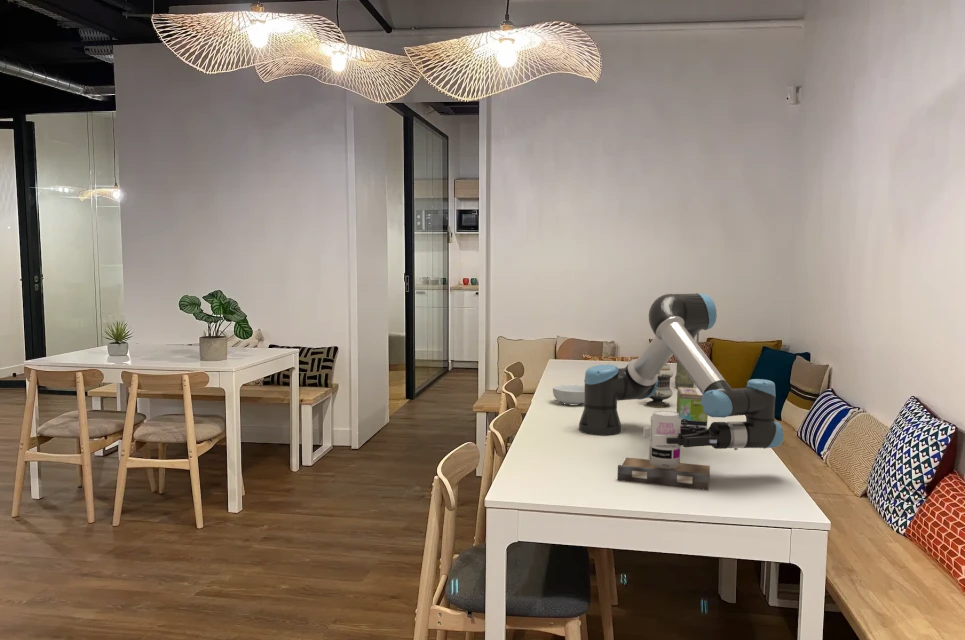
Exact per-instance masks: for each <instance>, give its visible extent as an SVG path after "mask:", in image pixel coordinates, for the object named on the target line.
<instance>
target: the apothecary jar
mask: <svg viewBox="0 0 965 640" xmlns="http://www.w3.org/2000/svg"><path fill="white" fill-rule="evenodd" d="M673 376H674V372H673V370H672V369H671V367H670V364H669V363H668V362H667V363H666V364H665V365H664V366H663V367H662V369H661V370H660V371H659V372H658V373H657V377H658V384H657V390H656V392H655V393H654V394H653V395H652V396H651V397H649V398H648V399H651V401H647V402H646V403H645V406H647V407H651V408H658V409H659V408H661V409H662V408H668V407H670V404H668V403H667V401H666V402H665V401H664V400H668V399H670V398H671V397H672V396H673V393H674V392H673V390H672V389H671V378H672V377H673Z"/></svg>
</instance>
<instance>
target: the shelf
mask: <svg viewBox="0 0 965 640" xmlns="http://www.w3.org/2000/svg"><path fill="white" fill-rule="evenodd" d="M649 460H650V459H645V458H634V457H625V459H624V461H623V463H622V464H618V465H617V481H622V480H625V481H624V482H631V481H633V482H632V483H640V482H641V484H648V485H649V484H650V485H651V484H652V485H660V486H669V487H677V488H687V489H696V490H703V489H704V491H708V489H709V483H708V482H709V479H710V473H711V472H710V470H711V465H707V464H706V465H705V464H697V463H695V464H694V463H688V462H687V463H686V462H680V464H679V466H677V468H674V469H660V468H656V467H654V466H652V464H650V462H649Z"/></svg>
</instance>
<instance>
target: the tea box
mask: <svg viewBox="0 0 965 640" xmlns="http://www.w3.org/2000/svg"><path fill="white" fill-rule="evenodd" d="M676 392H677V393H676V395H677V397H676V398H677V399H676V413H678V414H679V416H680V418H681V426H696V425H697V426H699V427H705V428H706V429H708V418H709V416H708V415H707V414H706V413H705V412H704V410H703V406H702V403H701V401H702V396H703V394H702V393H701V392H700V390H699V389H698V388H697V387H693V388H684V387H678V389H677V391H676Z"/></svg>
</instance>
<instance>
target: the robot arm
mask: <svg viewBox="0 0 965 640" xmlns="http://www.w3.org/2000/svg"><path fill="white" fill-rule="evenodd" d="M648 311H649V312H648V323H649V326H650V328H651V329H650V330H651V331H652V333H653V334H654V337H653V339H652V340H651V341H650V343H649V344H648V345H647V346H646V348H645V349H644V350H643V351H642V352H641V354H640V355H639V356H638V358H633V359H631V360H630V361H629V363H627V365H626V366H625V367H620V368H619V367H618V366H617V365H615V364H598V365H592V366H590V367H588V368H587V369H586V370H585V372H584V373H585V374H584V385H585V399H584V405H583V407H584V408H583V411H582V414H581V417H580V419H579V423H578V430H579V431H580V432H582V433H584V432H585V433H584V434H588V433H589V435H595V434H596V435H597V436H610V435H611V436H612V435H617V434H620V433H621V432H622V424H621V420H620V417H619V414H618V402H619V401H631V400H645V399H650V398H649V397H651V396H652V395H653V394H654V393H655V392H656V390H657V384H658V377H657V373H658V372H659V371H660V370H661V369H662V367H663V366H664V365H665V364H666V363H667V364H668V362H669V360H671V358H672V357H673V356H674V357H675V359H676V361H677V360H678V361H679V363H680V364H681V365H682V367H683V368H684V370H685V371H686V372H687V374H688V375H689V376H690V378H691V379H692V381H693V382H694V385H695V387H696V388H698V389H699V390H700V392H701V393H702V394H703V396H702V401H701V403H702V406H703V410H704V412H705V413H706V414H707V415H708V417H710V418H727V417H736V416H745V420H746V421H713V422H712V423H711V424H710V425H709V427H708V428H707V429H706V428H705V427H699V426H697V425H696V426H681V434H680V433H679V437H678V435H654V444H653V445H677V444H678V445H680V447H683V448H693V447H695V448H696V447H708V446H711V447H712V448H713V449H715V450H718V449H719V450H725V449H726V450H727V449H733V450H734V451H738V450H739V449H771V448H772V449H773V448H778V447H780V446H781V445H782V443H783V440H784V435H785V434H784V432H783V431H784V430H783V426H782V425H781V423H780V422H778V421H776V420H775V409H776V406H775V405H776V398H777V396H776V384H775V382H774V381H772V380H769V379H763V378H761V379H760V378H754V379H753V378H752V379H749V380H747V383H746V384H747V385H746V387H739V388H738V387H737V388H732V387H731V385H729V383H728V382H727V381H726V379H725V378H724V376H723V375H722V374H721V373H720V371H719V370H718V369H717V367H716V366H715V365H714V364H713V362H712V361H711V359H710V358H709V357H708V356H707V354H706V353H705V352H704V350H703V349H702V348H701V347H700V345H699V343H698V344H697V340H695V337H697V334H698V332H701V331H702V330H704V331H707V330H709V329H712V328H713V327H714V325H716V322H717V318H718V317H717V311H718V310H717V307H716V303H715V302H714V300H713V298H711V296H710V295H708V294H704V293H700V292H699V293H698V292H697V293H665V294H663V295H661V296H659V297H658V298H656V299H655V300H654V302H652V304H651V306H650V308H649V310H648ZM693 338H694V339H693ZM642 436H643V438H650V427H643V433H642Z"/></svg>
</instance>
